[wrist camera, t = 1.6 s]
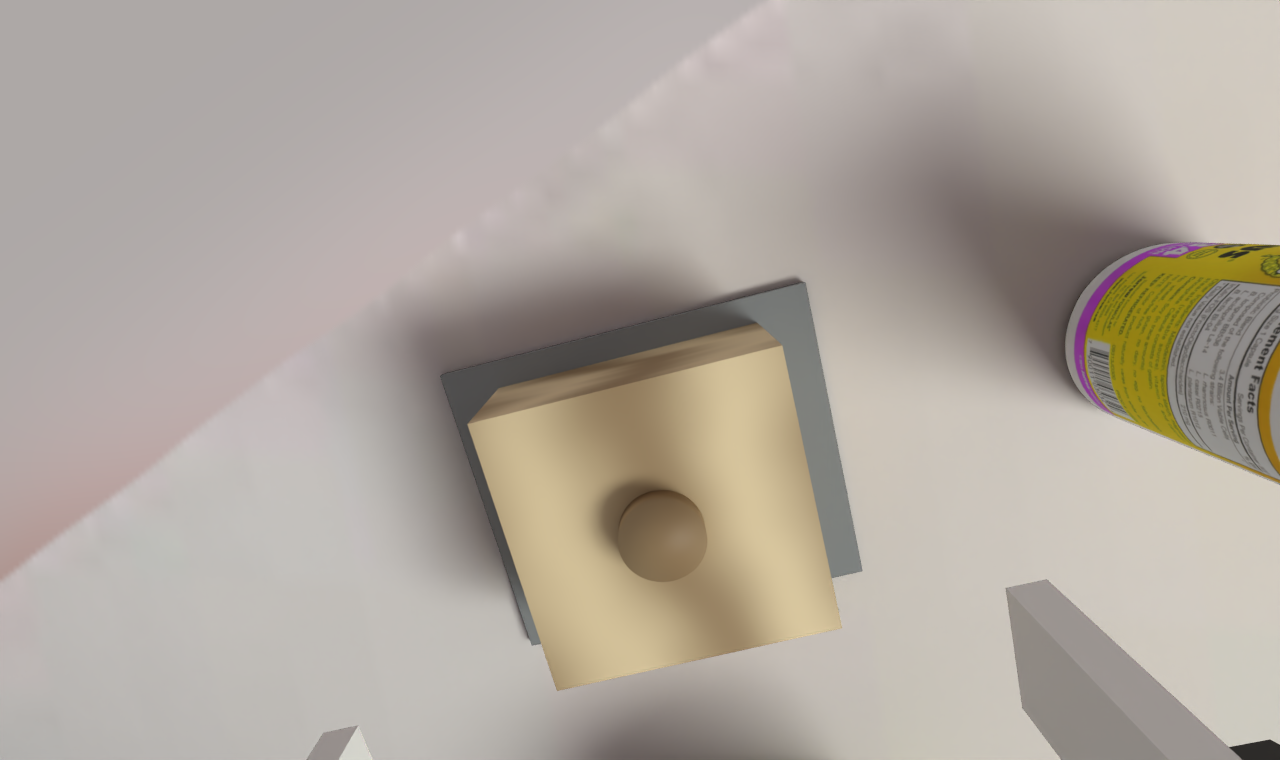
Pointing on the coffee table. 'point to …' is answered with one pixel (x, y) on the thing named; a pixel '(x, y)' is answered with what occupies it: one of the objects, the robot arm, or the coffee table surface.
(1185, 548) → the coffee table surface
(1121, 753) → the robot arm
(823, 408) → the mat
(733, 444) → the lid
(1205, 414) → the supplement bottle
